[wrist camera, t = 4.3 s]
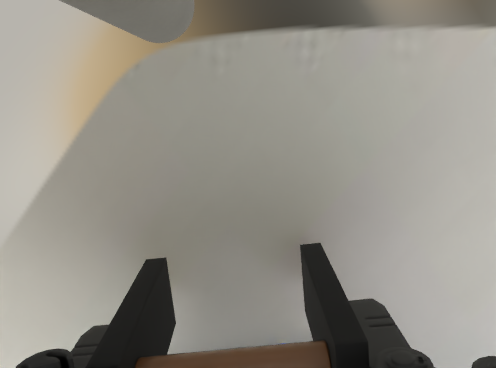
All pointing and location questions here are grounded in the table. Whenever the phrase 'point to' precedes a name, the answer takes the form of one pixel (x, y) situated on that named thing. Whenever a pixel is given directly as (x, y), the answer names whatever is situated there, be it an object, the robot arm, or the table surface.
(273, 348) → the lever
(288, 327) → the table surface
